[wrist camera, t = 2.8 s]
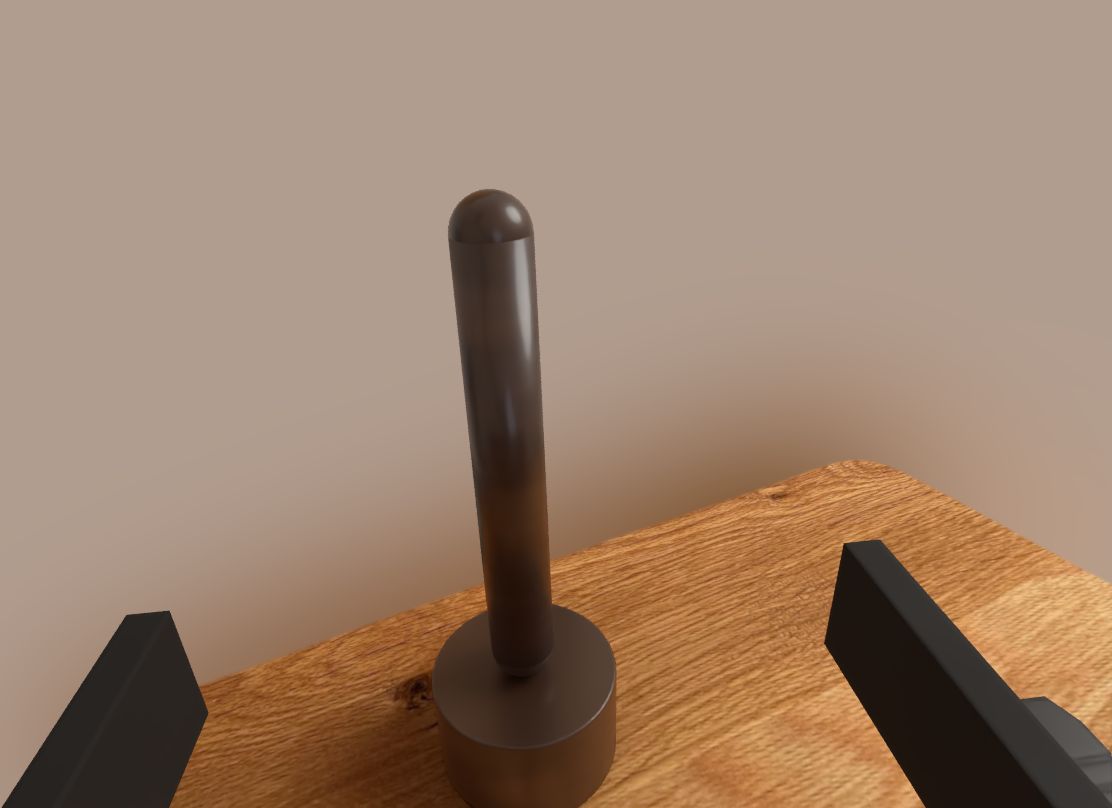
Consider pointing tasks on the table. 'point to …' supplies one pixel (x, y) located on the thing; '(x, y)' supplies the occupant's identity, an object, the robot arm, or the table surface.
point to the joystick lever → (515, 553)
